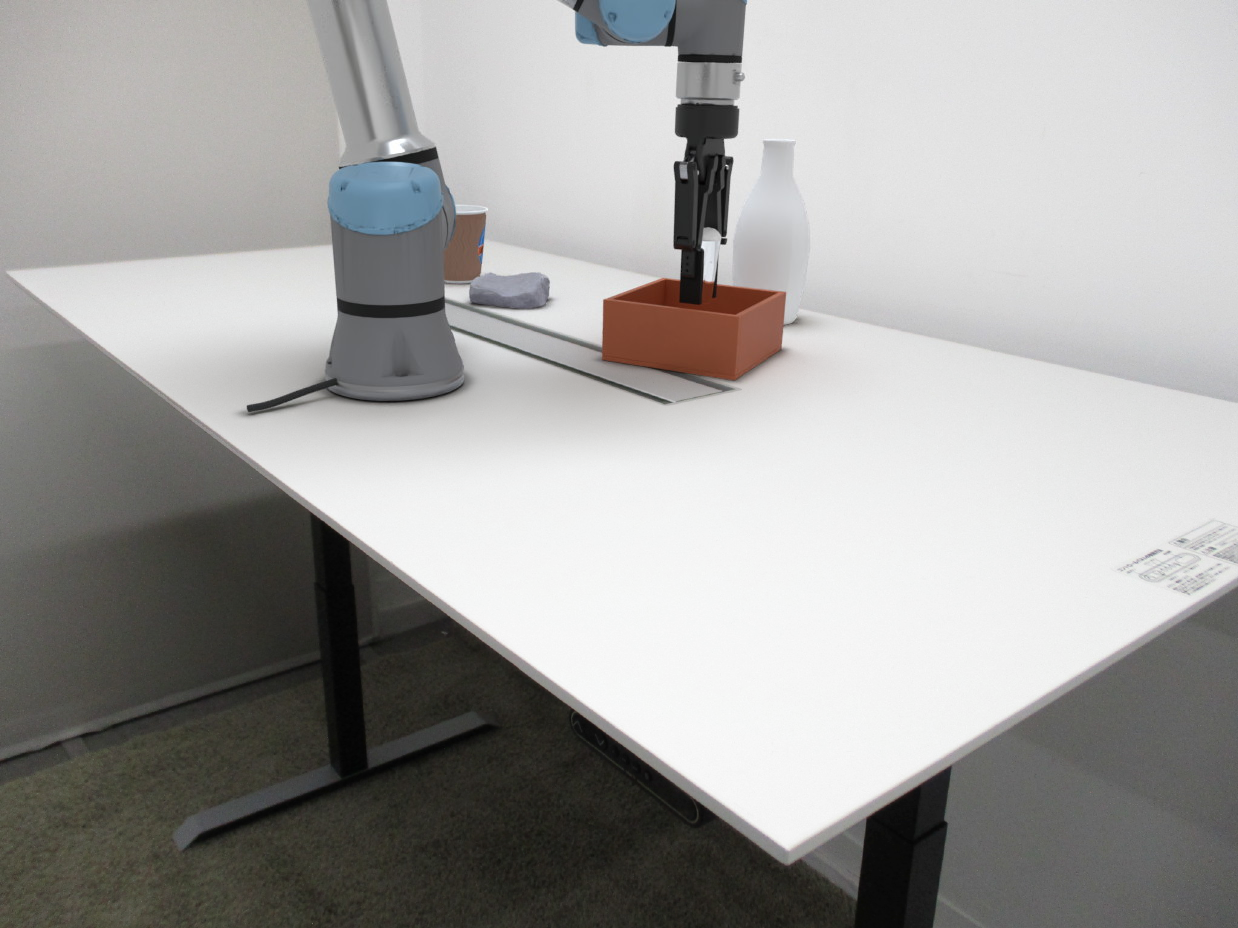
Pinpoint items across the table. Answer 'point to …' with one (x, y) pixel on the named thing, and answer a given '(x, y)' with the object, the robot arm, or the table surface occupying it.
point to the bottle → (773, 230)
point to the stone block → (511, 290)
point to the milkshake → (709, 261)
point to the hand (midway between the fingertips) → (698, 299)
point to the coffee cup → (465, 245)
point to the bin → (693, 329)
